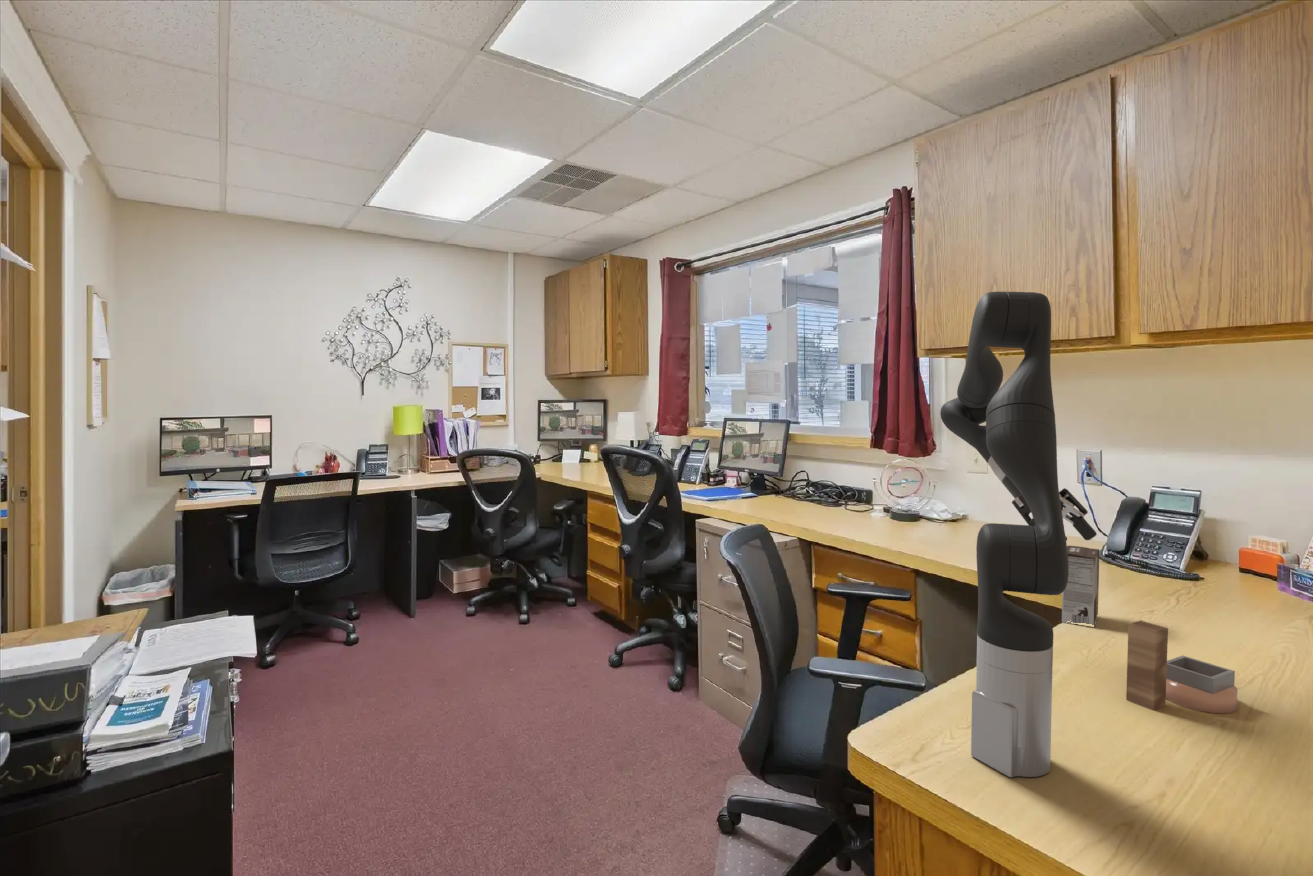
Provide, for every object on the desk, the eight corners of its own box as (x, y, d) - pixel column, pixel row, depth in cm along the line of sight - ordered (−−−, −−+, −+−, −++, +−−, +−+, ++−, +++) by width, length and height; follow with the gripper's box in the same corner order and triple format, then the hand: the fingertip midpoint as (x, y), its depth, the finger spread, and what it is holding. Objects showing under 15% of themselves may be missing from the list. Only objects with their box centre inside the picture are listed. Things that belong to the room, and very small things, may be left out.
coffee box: (1065, 611, 149) (1067, 544, 149) (1098, 617, 145) (1100, 548, 144) (1060, 622, 142) (1062, 552, 141) (1094, 628, 138) (1096, 556, 137)
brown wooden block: (1153, 710, 102) (1155, 631, 101) (1126, 700, 106) (1128, 624, 105) (1165, 705, 103) (1168, 628, 103) (1138, 695, 107) (1140, 620, 106)
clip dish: (1217, 718, 99) (1218, 684, 99) (1145, 692, 108) (1146, 661, 108) (1249, 705, 103) (1250, 672, 103) (1177, 681, 112) (1178, 651, 112)
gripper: (1007, 460, 118) (1068, 532, 108) (1055, 456, 124) (1117, 524, 114) (981, 485, 123) (1037, 556, 113) (1029, 480, 129) (1086, 547, 119)
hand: (1077, 540), depth 113 cm, fingers open, 8 cm apart
